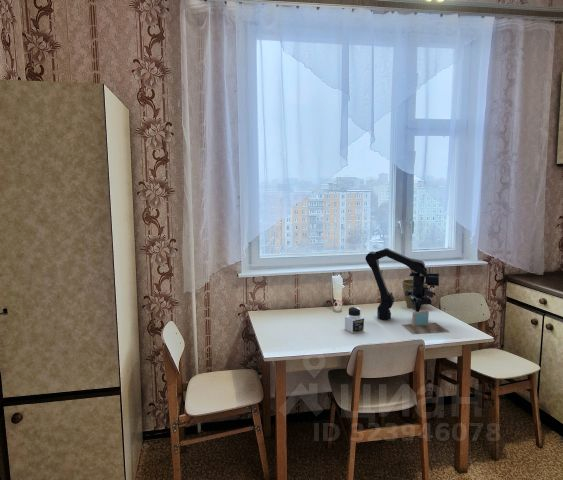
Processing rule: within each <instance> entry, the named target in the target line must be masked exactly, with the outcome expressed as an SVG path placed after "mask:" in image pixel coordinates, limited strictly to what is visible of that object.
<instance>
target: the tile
mask: <svg viewBox="0 0 563 480" xmlns="http://www.w3.org/2000/svg"><path fill="white" fill-rule="evenodd" d="M429 313H430V312H429V311H427V310H426V311H425V310H423V311H419V312H416V311H412V319H411V320H412V321H411V324H412V325H413V326H422V325H428V323H429V317H430V316H429Z"/></svg>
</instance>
